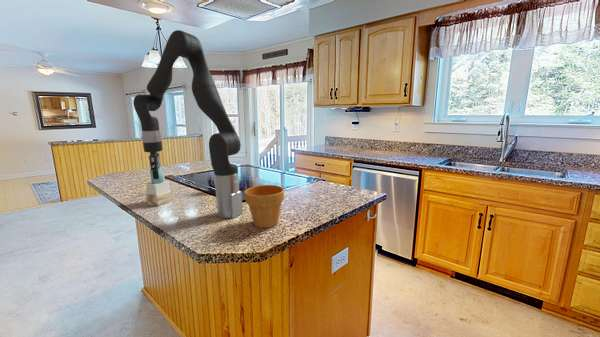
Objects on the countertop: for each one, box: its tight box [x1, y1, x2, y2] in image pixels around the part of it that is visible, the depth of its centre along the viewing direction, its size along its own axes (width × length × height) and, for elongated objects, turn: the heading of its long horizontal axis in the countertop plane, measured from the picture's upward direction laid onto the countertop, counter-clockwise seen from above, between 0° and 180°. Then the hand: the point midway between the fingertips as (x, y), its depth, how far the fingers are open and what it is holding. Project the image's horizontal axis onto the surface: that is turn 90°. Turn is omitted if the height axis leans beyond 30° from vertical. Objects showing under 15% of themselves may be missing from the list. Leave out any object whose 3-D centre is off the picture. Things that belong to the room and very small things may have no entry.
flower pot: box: [244, 184, 285, 229], centre depth 104 cm, size 14×14×13 cm
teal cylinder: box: [149, 168, 165, 184], centre depth 129 cm, size 5×5×6 cm
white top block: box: [145, 180, 171, 196], centre depth 130 cm, size 7×7×5 cm
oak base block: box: [145, 190, 174, 208], centre depth 131 cm, size 8×8×5 cm
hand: (156, 177), depth 129 cm, fingers open, 6 cm apart
